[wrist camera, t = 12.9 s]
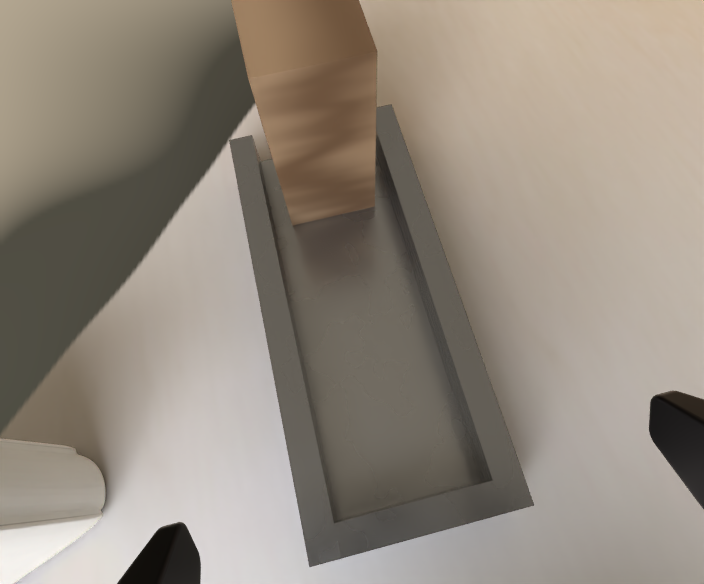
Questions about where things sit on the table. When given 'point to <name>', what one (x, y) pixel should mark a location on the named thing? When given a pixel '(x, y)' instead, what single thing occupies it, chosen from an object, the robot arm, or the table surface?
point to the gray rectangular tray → (374, 364)
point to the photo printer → (43, 503)
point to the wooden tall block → (314, 100)
